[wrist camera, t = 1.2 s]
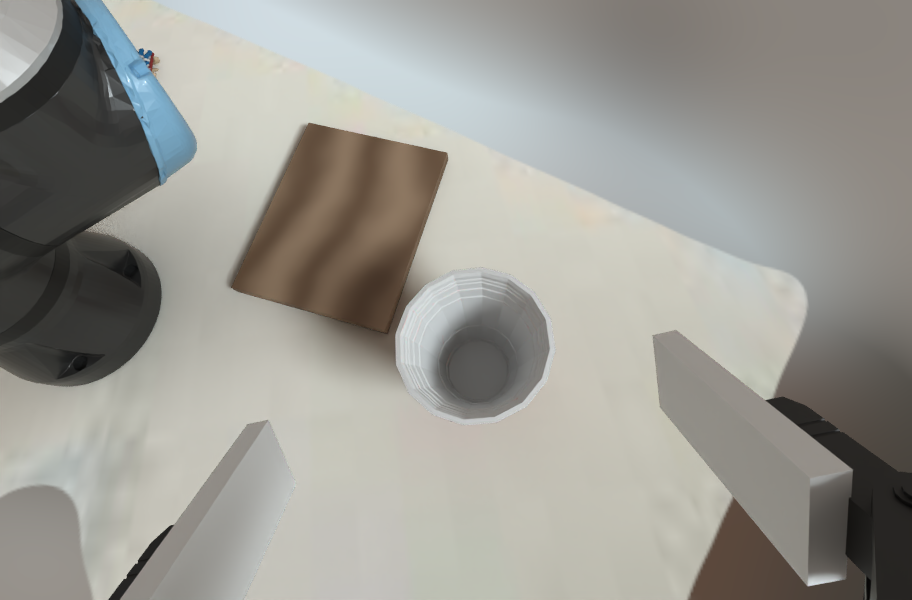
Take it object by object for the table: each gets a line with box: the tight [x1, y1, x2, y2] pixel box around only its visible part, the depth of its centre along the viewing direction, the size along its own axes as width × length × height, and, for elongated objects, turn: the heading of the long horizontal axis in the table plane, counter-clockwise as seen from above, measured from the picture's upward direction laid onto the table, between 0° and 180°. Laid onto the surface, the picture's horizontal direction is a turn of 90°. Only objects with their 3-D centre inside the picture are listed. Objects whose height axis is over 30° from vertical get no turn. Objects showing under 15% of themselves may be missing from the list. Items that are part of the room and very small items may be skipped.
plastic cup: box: [395, 267, 556, 425], centre depth 35 cm, size 11×11×12 cm
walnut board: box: [231, 123, 448, 334], centre depth 46 cm, size 16×20×1 cm
